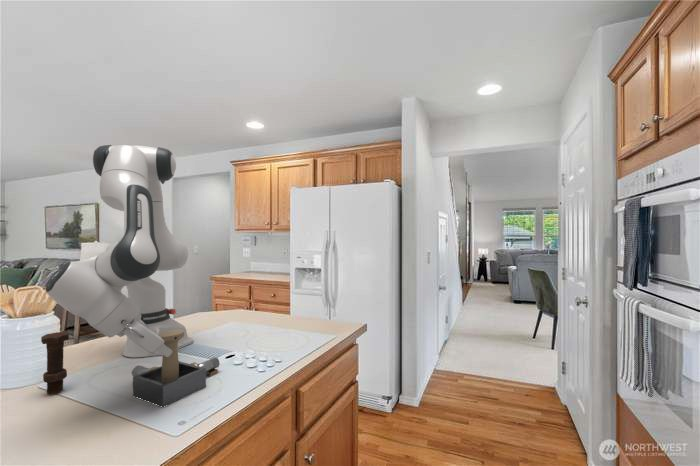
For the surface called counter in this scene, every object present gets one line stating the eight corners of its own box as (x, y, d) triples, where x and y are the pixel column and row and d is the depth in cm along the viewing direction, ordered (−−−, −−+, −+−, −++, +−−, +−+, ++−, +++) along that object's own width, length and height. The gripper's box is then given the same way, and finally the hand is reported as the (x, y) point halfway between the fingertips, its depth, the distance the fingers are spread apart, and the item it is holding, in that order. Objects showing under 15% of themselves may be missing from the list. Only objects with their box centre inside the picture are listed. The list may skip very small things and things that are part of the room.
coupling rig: (183, 362, 106) (183, 347, 106) (230, 375, 97) (230, 357, 97) (113, 389, 88) (113, 370, 88) (162, 407, 78) (162, 386, 78)
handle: (152, 394, 85) (152, 335, 85) (176, 384, 90) (177, 329, 91) (162, 398, 82) (163, 338, 83) (187, 388, 88) (187, 331, 88)
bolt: (50, 399, 83) (50, 338, 83) (34, 397, 84) (34, 337, 84) (74, 388, 88) (74, 331, 88) (59, 386, 89) (59, 330, 89)
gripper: (139, 314, 73) (186, 348, 80) (122, 300, 88) (163, 330, 95) (114, 338, 70) (166, 372, 77) (101, 320, 85) (145, 349, 91)
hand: (164, 349), depth 86 cm, fingers open, 8 cm apart
